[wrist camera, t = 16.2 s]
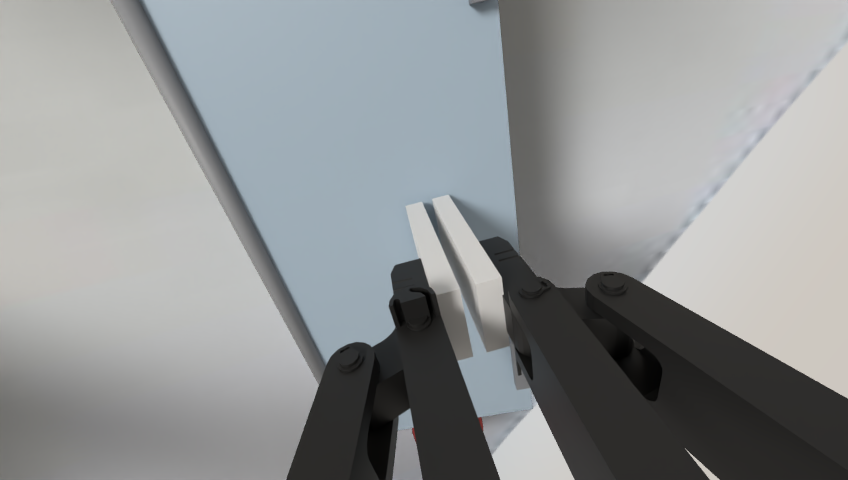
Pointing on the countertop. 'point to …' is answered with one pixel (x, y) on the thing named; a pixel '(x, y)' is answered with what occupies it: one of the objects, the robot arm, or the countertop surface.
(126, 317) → the countertop surface
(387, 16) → the cover
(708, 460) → the robot arm
